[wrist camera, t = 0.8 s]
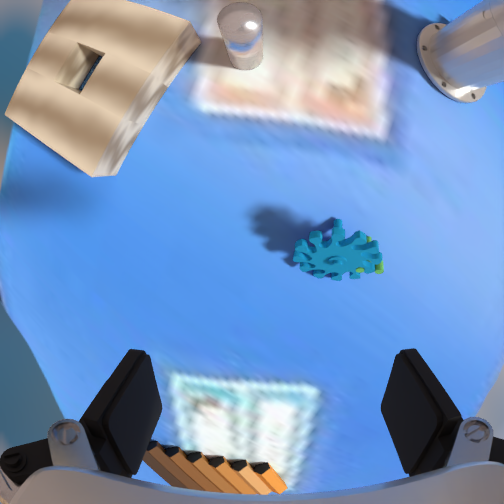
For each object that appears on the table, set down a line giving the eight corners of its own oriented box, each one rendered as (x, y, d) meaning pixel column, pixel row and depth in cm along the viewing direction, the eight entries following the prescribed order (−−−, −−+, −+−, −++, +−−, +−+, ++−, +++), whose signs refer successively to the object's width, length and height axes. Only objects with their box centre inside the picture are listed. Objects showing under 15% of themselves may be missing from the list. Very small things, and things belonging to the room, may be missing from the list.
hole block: (97, 5, 27) (78, -10, 21) (201, 42, 29) (190, 21, 24) (30, 117, 32) (4, 114, 26) (116, 175, 34) (91, 177, 28)
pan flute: (126, 433, 48) (189, 492, 53) (120, 444, 44) (187, 503, 50) (236, 415, 44) (287, 480, 49) (234, 430, 41) (287, 492, 46)
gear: (277, 270, 35) (318, 227, 26) (283, 229, 38) (320, 180, 29) (356, 293, 37) (408, 261, 28) (356, 254, 40) (402, 216, 31)
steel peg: (241, 37, 29) (233, -3, 19) (269, 52, 30) (270, 13, 20) (223, 61, 30) (208, 25, 20) (251, 75, 31) (245, 42, 21)
